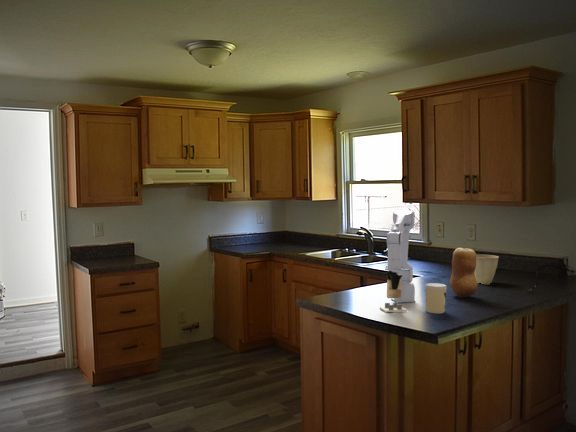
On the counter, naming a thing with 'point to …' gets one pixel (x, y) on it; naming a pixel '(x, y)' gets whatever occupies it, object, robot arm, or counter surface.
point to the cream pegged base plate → (393, 308)
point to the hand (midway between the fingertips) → (393, 288)
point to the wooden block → (393, 290)
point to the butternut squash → (463, 272)
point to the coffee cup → (435, 297)
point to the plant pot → (485, 268)
